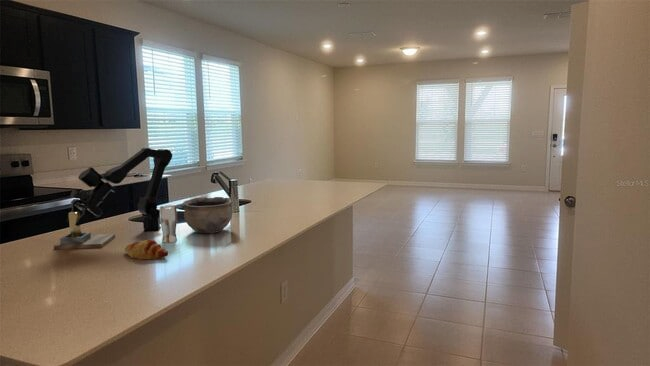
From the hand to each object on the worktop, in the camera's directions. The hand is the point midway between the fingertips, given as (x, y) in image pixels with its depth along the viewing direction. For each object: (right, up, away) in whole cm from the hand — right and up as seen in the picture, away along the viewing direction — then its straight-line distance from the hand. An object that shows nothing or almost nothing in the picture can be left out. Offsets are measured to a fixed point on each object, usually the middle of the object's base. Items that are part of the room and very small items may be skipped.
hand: (71, 223), depth 170 cm
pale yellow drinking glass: (+1, -7, +2) cm, 8 cm away
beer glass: (+37, -8, +8) cm, 39 cm away
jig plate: (+3, -9, +4) cm, 10 cm away
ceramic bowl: (+50, -6, +24) cm, 56 cm away
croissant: (+36, -11, -12) cm, 40 cm away
